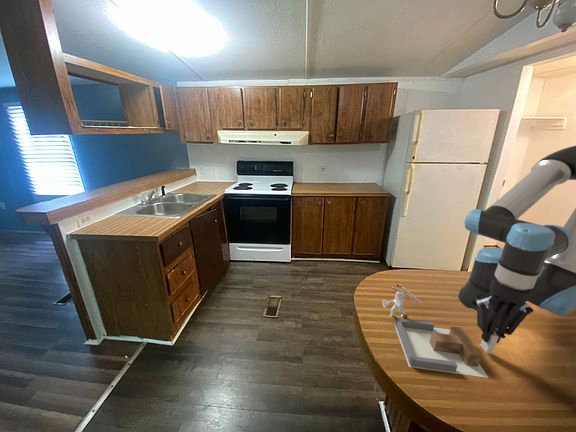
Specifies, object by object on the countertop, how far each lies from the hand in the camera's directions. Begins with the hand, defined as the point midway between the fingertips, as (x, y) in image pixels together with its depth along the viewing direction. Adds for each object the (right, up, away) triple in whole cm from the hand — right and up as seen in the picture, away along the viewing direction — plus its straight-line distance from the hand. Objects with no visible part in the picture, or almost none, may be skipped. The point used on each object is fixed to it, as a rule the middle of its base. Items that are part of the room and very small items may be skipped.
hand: (486, 349), depth 68 cm
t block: (-9, -1, +2) cm, 10 cm away
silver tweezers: (-8, +5, +26) cm, 27 cm away
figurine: (-21, +2, +15) cm, 25 cm away
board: (-13, -2, +3) cm, 14 cm away
